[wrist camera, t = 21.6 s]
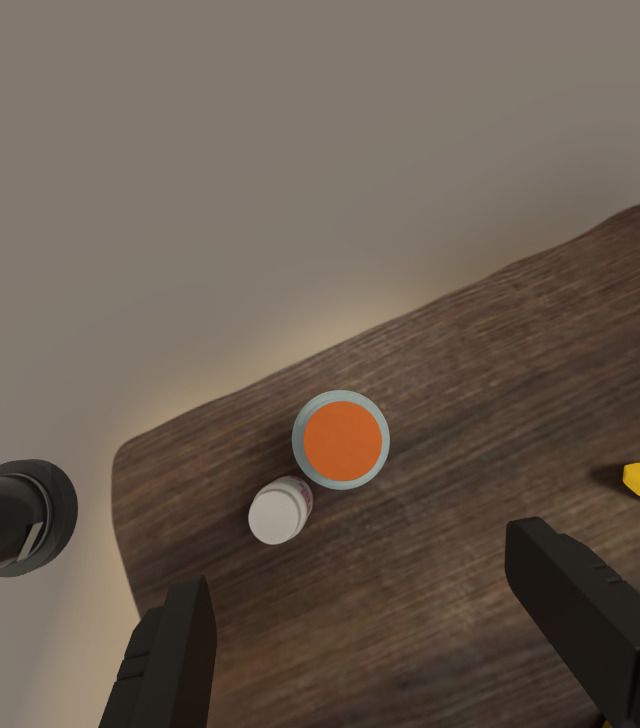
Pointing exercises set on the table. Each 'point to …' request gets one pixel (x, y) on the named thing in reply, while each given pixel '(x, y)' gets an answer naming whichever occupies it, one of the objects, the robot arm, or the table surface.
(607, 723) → the bottle
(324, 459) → the cap
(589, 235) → the table surface
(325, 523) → the table surface
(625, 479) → the banana peel
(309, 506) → the pill bottle
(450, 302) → the table surface
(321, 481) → the water bottle
